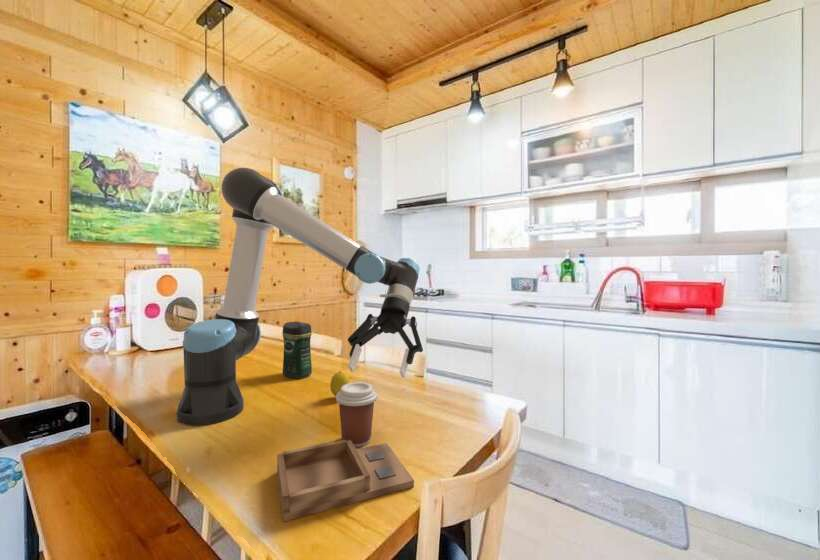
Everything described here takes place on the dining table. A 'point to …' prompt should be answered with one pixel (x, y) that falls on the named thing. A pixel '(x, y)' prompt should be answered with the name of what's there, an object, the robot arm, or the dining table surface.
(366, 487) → the wooden tray
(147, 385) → the dining table surface
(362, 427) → the coffee cup
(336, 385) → the lemon
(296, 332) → the coffee jar
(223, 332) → the robot arm
